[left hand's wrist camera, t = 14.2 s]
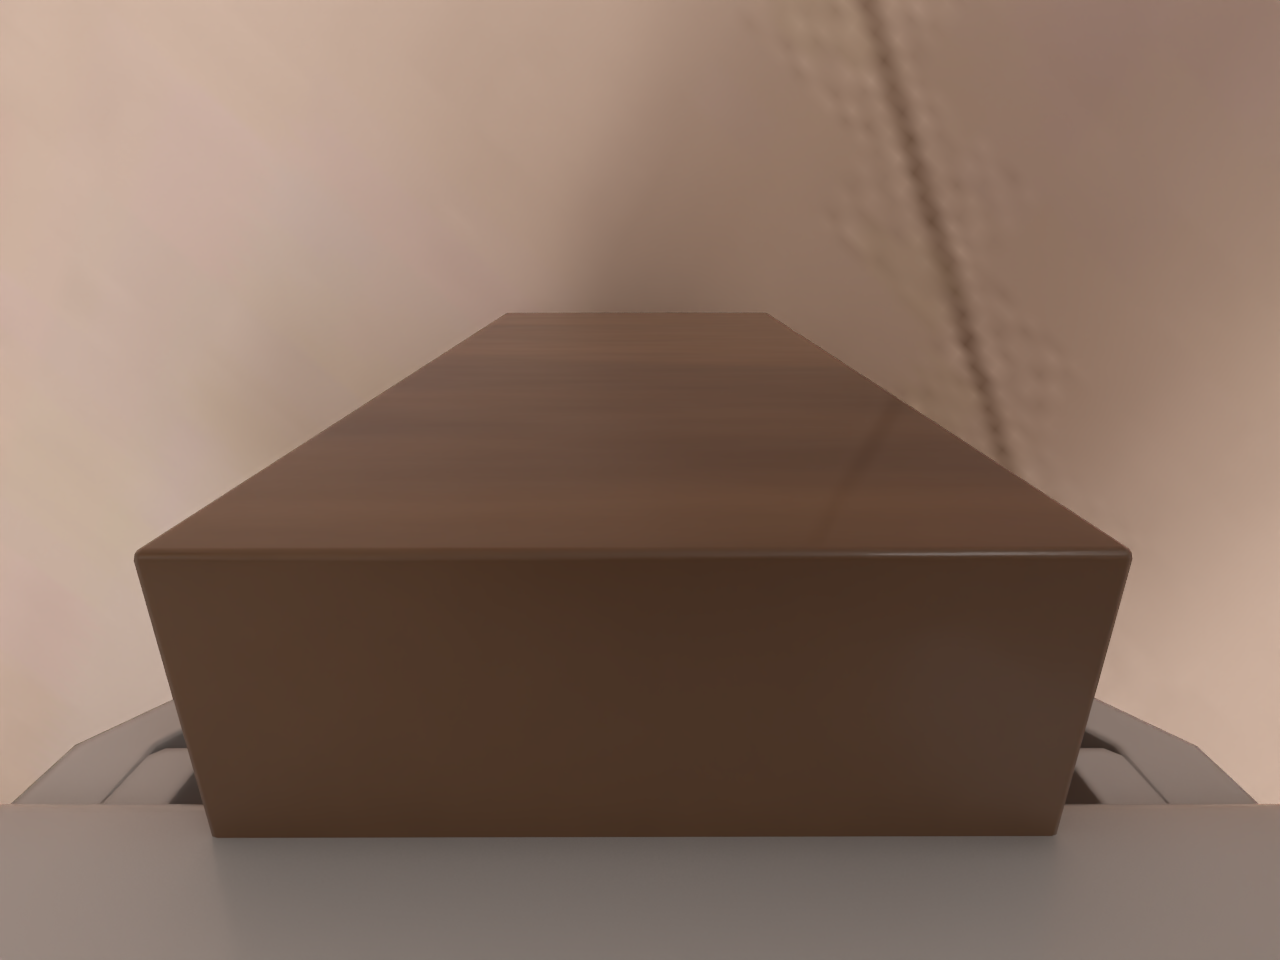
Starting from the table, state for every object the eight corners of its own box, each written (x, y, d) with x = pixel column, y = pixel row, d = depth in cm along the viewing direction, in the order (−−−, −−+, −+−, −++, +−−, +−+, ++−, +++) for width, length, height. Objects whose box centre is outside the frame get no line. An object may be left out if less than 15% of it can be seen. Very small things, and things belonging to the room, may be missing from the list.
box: (505, 312, 15) (125, 551, 4) (768, 312, 15) (1138, 551, 4) (549, 978, 23) (462, 1722, 12) (726, 978, 23) (814, 1720, 12)
